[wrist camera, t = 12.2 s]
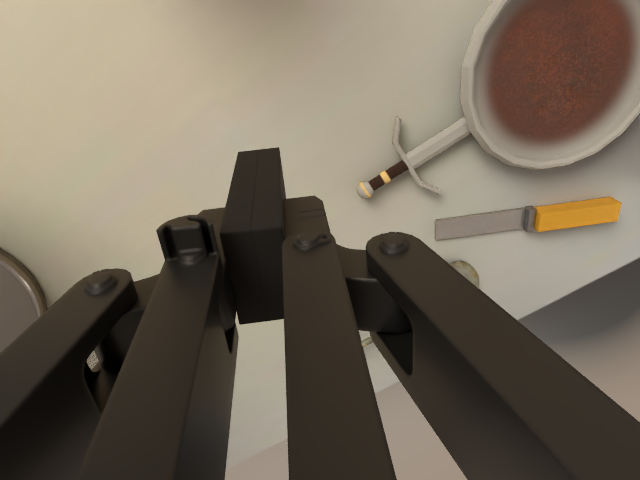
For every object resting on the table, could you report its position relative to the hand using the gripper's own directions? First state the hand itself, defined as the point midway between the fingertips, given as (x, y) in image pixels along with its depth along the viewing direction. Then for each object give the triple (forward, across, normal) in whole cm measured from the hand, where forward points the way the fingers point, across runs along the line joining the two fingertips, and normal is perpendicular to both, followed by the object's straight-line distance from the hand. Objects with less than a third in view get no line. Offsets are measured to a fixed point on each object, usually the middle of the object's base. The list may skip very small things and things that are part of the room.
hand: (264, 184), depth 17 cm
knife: (+23, +23, -15) cm, 36 cm away
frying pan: (+23, +19, -4) cm, 30 cm away
